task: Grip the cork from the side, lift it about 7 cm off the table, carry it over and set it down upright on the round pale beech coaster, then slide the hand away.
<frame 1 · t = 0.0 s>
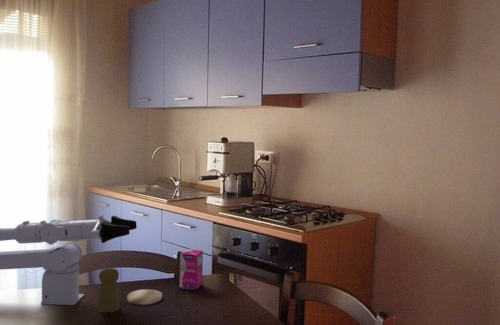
hand: (132, 227, 133), 22 cm above the table, tool horizontal, fingers open, 7 cm apart
supplement box: (190, 287, 149), on the table
coaster: (144, 298, 138), on the table
cork: (108, 309, 129), on the table
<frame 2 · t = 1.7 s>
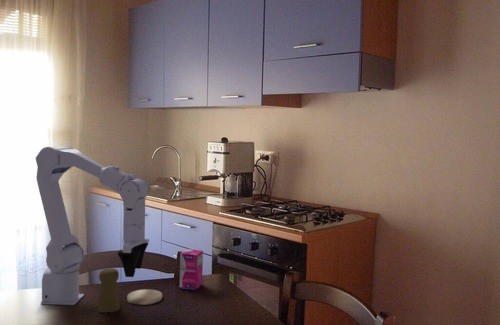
hand: (133, 272, 129), 10 cm above the table, tool pointing down, fingers open, 7 cm apart
nothing on the table moved.
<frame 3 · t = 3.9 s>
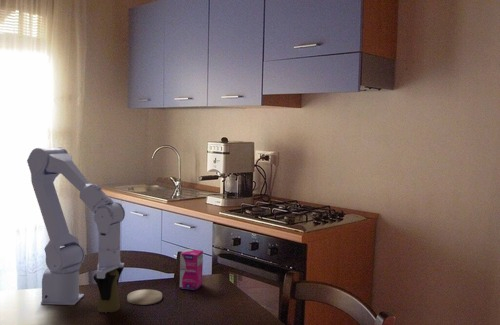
hand: (108, 296, 129), 3 cm above the table, tool pointing down, fingers closed on cork, 5 cm apart
cork: (108, 309, 129), on the table, touching gripper
everything else where it was.
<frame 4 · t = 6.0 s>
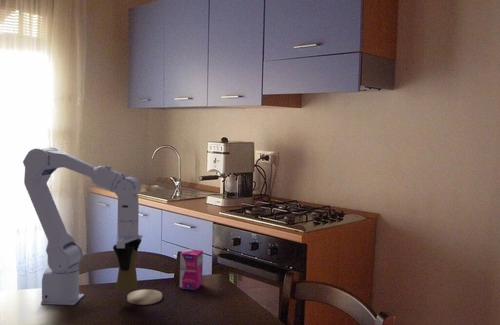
hand: (127, 267, 133), 10 cm above the table, tool pointing down, fingers closed on cork, 5 cm apart
cork: (126, 288, 133), point 4 cm above the table, touching gripper
everything else where it was.
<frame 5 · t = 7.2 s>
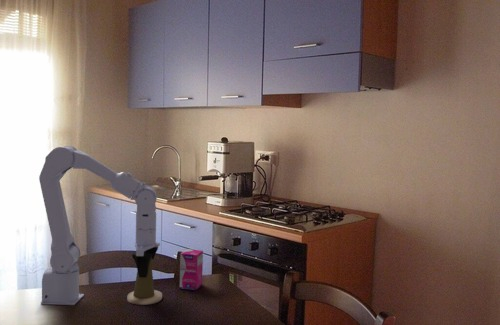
hand: (145, 274, 137), 7 cm above the table, tool pointing down, fingers closed on cork, 5 cm apart
cork: (143, 295, 137), point 1 cm above the table, touching gripper
everything else where it was.
when the fingers open (6 cm above the table, at t = 8.1 s): cork stays where it is, resting on coaster.
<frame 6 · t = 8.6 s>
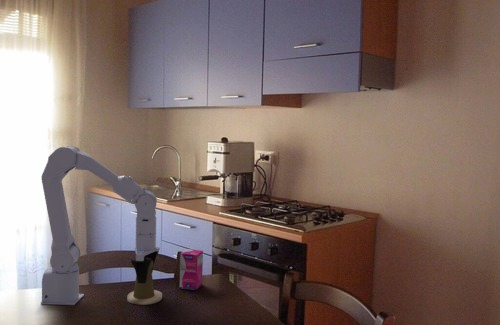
hand: (145, 278, 137), 6 cm above the table, tool pointing down, fingers open, 7 cm apart
cork: (143, 296, 137), point 1 cm above the table, touching coaster
everything else where it was.
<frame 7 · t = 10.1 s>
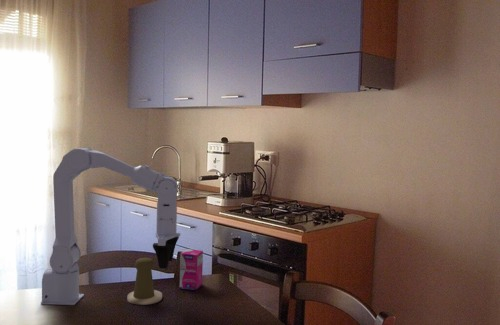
hand: (165, 264, 137), 10 cm above the table, tool pointing down, fingers open, 7 cm apart
nothing on the table moved.
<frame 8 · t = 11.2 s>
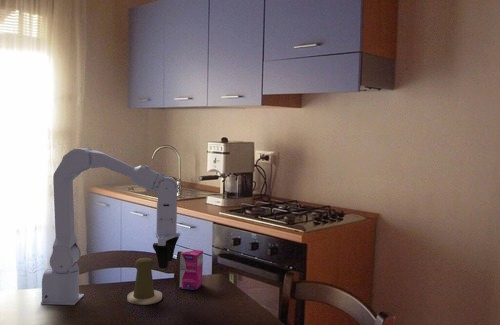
hand: (165, 264, 137), 10 cm above the table, tool pointing down, fingers open, 7 cm apart
nothing on the table moved.
at the end: cork 0.4 cm off-centre on the coaster, point 0.8 cm above the coaster's base; cork tilted 0°; the gripper is holding nothing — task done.
